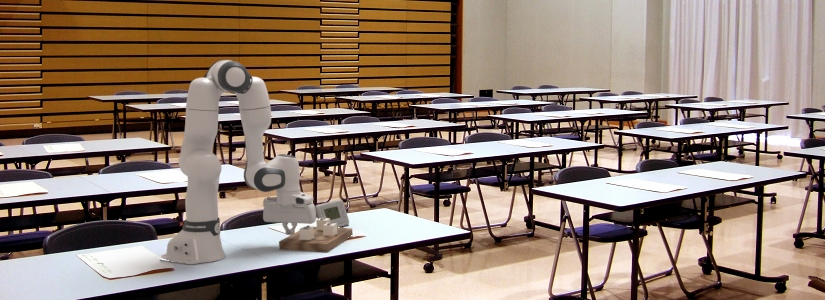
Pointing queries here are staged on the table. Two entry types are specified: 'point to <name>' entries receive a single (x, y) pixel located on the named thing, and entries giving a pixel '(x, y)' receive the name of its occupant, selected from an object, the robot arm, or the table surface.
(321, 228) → the switch back
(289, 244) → the switch housing
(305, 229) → the switch front
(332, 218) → the digital clock
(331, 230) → the switch middle
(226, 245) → the table surface
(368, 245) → the table surface
